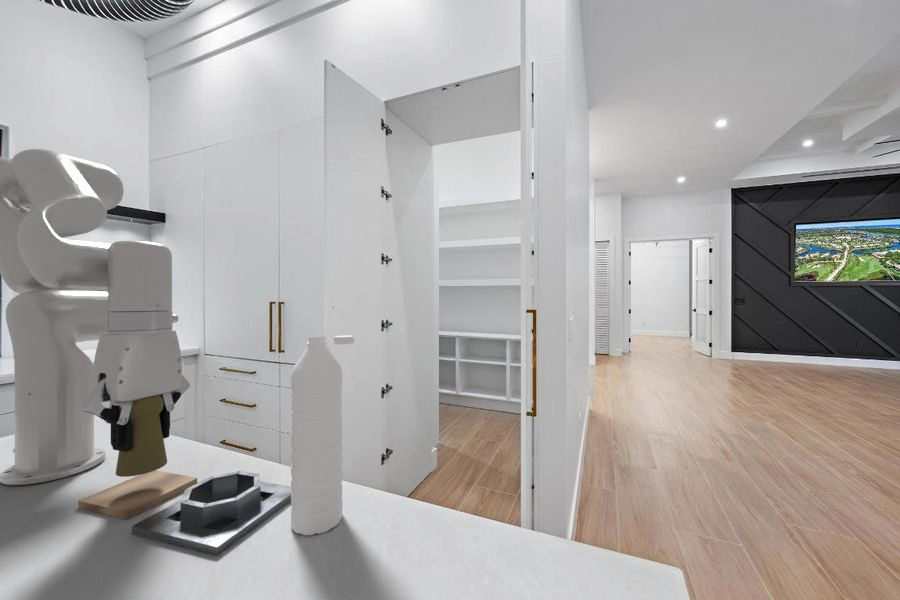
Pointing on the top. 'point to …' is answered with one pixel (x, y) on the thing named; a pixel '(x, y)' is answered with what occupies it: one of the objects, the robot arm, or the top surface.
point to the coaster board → (137, 494)
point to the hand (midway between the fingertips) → (142, 442)
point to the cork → (144, 439)
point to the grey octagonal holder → (216, 512)
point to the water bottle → (316, 438)
